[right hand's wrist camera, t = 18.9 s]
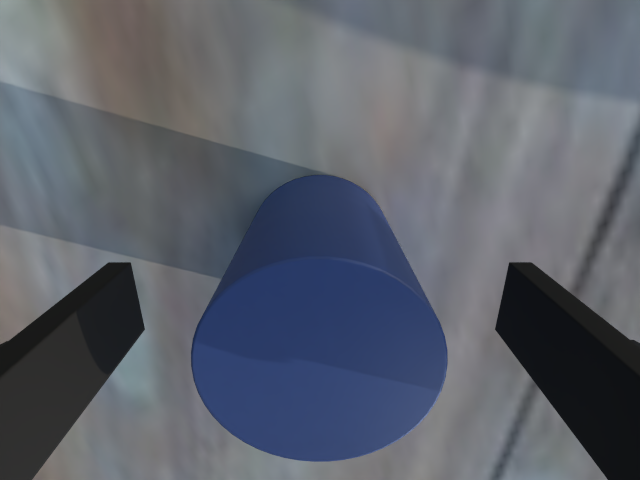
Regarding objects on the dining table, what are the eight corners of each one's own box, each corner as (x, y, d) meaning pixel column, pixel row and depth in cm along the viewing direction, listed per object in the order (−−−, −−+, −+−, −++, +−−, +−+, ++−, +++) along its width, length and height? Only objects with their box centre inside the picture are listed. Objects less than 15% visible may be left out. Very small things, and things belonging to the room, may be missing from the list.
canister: (260, 162, 16) (197, 233, 8) (404, 188, 16) (486, 283, 8) (244, 290, 18) (184, 446, 10) (370, 310, 18) (408, 476, 10)
